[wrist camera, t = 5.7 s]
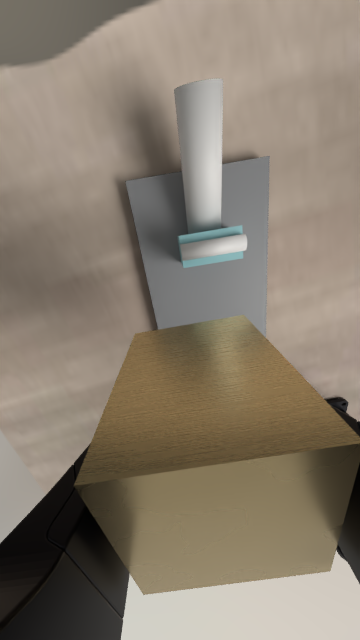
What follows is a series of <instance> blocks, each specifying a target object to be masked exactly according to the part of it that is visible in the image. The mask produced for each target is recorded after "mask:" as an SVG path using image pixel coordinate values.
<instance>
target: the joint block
mask: <svg viewBox="0 0 360 640" xmlns="http://www.w3.org/2000/svg"><path fill="white" fill-rule="evenodd" d="M359 463H360V437H359V436H358V435H357V434H356V433H355V432H354V430H353V429H352V428H351V427H350V426H349V425H348V424H347V423H346V422H345V421H344V420H343V419H342V418H341V417H340V416H339V415H338V414H337V413H336V411H335V410H334V409H333V408H332V407H331V406H330V405H329V404H328V403H327V402H326V401H325V400H324V399H323V398H322V397H321V396H320V395H319V394H318V392H317V391H316V390H315V389H314V388H313V387H312V386H311V385H310V384H309V383H308V382H307V381H306V380H305V379H304V378H303V377H302V376H301V375H300V373H299V372H298V371H297V370H296V369H295V368H294V367H293V366H292V365H291V364H290V363H289V362H288V361H287V360H286V359H285V358H284V357H283V355H282V354H281V353H280V352H279V351H278V350H277V349H276V348H275V347H274V346H273V345H272V344H271V343H270V342H269V341H268V340H267V339H266V338H265V336H264V335H263V334H262V333H261V332H260V331H259V330H258V329H257V328H256V327H255V326H254V325H253V324H252V323H251V322H250V321H249V320H248V319H247V317H246V316H245V315H239V316H234V317H228V318H222V319H217V320H211V321H205V322H199V323H194V324H188V325H182V326H177V327H171V328H165V329H159V330H154V331H148V332H142V333H137V334H135V335H134V338H133V340H132V343H131V345H130V348H129V350H128V353H127V355H126V358H125V360H124V363H123V365H122V368H121V370H120V372H119V375H118V377H117V380H116V382H115V385H114V387H113V390H112V392H111V395H110V397H109V400H108V402H107V405H106V407H105V409H104V412H103V414H102V417H101V419H100V422H99V424H98V427H97V429H96V432H95V434H94V437H93V439H92V442H91V444H90V447H89V449H88V451H87V454H86V456H85V459H84V461H83V464H82V466H81V469H80V471H79V474H78V476H77V479H76V481H75V484H74V487H75V489H76V490H77V492H78V493H79V495H80V496H81V498H82V500H83V501H84V503H85V504H86V506H87V507H88V509H89V510H90V512H91V514H92V515H93V517H94V518H95V520H96V521H97V523H98V525H99V526H100V528H101V529H102V531H103V532H104V534H105V535H106V537H107V539H108V540H109V542H110V543H111V545H112V546H113V548H114V549H115V551H116V553H117V554H118V556H119V557H120V559H121V560H122V562H123V563H124V565H125V567H126V568H127V570H128V571H129V573H130V574H131V576H132V577H133V579H134V581H135V582H136V584H137V585H138V587H139V588H140V590H141V591H142V593H143V594H144V595H145V594H153V593H161V592H168V591H177V590H185V589H193V588H201V587H208V586H217V585H224V584H233V583H239V582H248V581H256V580H264V579H272V578H280V577H288V576H296V575H304V574H312V573H320V572H327V571H330V570H331V566H332V563H333V559H334V555H335V552H336V548H337V544H338V541H339V537H340V533H341V530H342V526H343V522H344V518H345V515H346V511H347V507H348V504H349V500H350V496H351V493H352V489H353V485H354V482H355V478H356V474H357V470H358V467H359Z"/></svg>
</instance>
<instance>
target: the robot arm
mask: <svg viewBox="0 0 360 640" xmlns="http://www.w3.org/2000/svg"><path fill="white" fill-rule="evenodd" d="M326 402H327V403H328V404H329V405H330V406H331V407H332V408H333V409H334V410H335V411H336V413H337V414H338V415H339V416H340V417H341V418H342V419H343V420H344V421H345V422H346V423H347V424H348V425H349V426H350V427H351V428H352V429H353V430H354V432H355V433H356V434H357V435H358V436H359V437H360V421H358V422H357V420H356V419H354V418H352V417H351V416H349V415H348V414H347V413H346V410H347V406H348V402H347V401H346V400H345V399H336V400H329V401H326ZM90 444H91V443H90ZM90 444H89V446H88V447H87V448H86V449H85V450H84V452H83V453H82V454H81V455H80V456H79V458H78V459H77V460H76V461H75V462H74V465H72V466H71V467H70V468H69V469H68V470H67V472H66V473H65V474H64V475H63V476H62V477H61V479H60V480H59V481H58V482H57V483H56V484H55V486H54V487H53V488H52V489H51V490H50V491H49V492H48V493H47V495H46V496H45V497H44V498H43V499H42V500H41V501H40V502H39V503H38V504H37V505H36V506H35V507H34V509H33V510H32V511H31V512H30V513H29V514H28V515H27V516H26V517H25V518H24V519H23V520H22V521H21V522H20V523H19V524H18V525H17V526H16V528H15V529H14V530H13V531H12V532H11V533H10V534H9V535H8V536H7V537H6V538H5V539H4V540H3V541H2V542H1V543H0V640H121V632H122V625H123V619H122V618H123V616H124V610H125V603H126V595H127V588H128V581H129V574H130V573H129V571H128V570H127V568H126V567H125V565H124V563H123V562H122V560H121V559H120V557H119V556H118V554H117V553H116V551H115V549H114V548H113V546H112V545H111V543H110V542H109V540H108V539H107V537H106V535H105V534H104V532H103V531H102V529H101V528H100V526H99V525H98V523H97V521H96V520H95V518H94V517H93V515H92V514H91V512H90V510H89V509H88V507H87V506H86V504H85V503H84V501H83V500H82V498H81V496H80V495H79V493H78V492H77V490H76V489H75V487H74V484H75V481H76V479H77V476H78V474H79V471H80V469H81V466H82V464H83V461H84V459H85V456H86V454H87V451H88V449H89V447H90ZM336 550H337V552H338V554H339V555H340V556H341V557H342V558H343V559H345V560H346V561H347V562H348V564H349V565H350V567H351V569H352V570H353V572H354V574H355V576H356V578H357V580H358V581H359V583H360V463H359V467H358V470H357V474H356V478H355V482H354V485H353V489H352V493H351V496H350V500H349V504H348V507H347V511H346V515H345V518H344V522H343V526H342V530H341V533H340V537H339V541H338V544H337V548H336Z"/></svg>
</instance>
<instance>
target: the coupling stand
mask: <svg viewBox="0 0 360 640" xmlns="http://www.w3.org/2000/svg"><path fill="white" fill-rule="evenodd" d="M174 93H175V104H176V114H177V124H178V134H179V145H180V155H181V165H182V171H180V172H175V173H169V174H163V175H157V176H152V177H146V178H140V179H135V180H129V181H125V182H126V186H127V191H128V195H129V200H130V204H131V209H132V214H133V218H134V223H135V227H136V232H137V236H138V241H139V245H140V250H141V254H142V259H143V263H144V268H145V272H146V277H147V281H148V286H149V290H150V295H151V299H152V304H153V309H154V313H155V318H156V322H157V327H158V330H159V329H165V328H171V327H177V326H182V325H188V324H194V323H199V322H205V321H211V320H217V319H222V318H228V317H234V316H239V315H245V316H246V317H247V319H248V320H249V321H250V322H251V323H252V324H253V325H254V326H255V327H256V328H257V329H258V330H259V331H260V332H261V333H262V334H263V335H264V336H265V338H266V304H267V255H268V206H269V157H270V156H266V157H260V158H255V159H249V160H243V161H238V162H232V163H226V164H222V124H223V79H219V78H216V79H207V80H201V81H196V82H192V83H188V84H185V85H182V86H180V87H177V88H176V89H175V90H174Z"/></svg>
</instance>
